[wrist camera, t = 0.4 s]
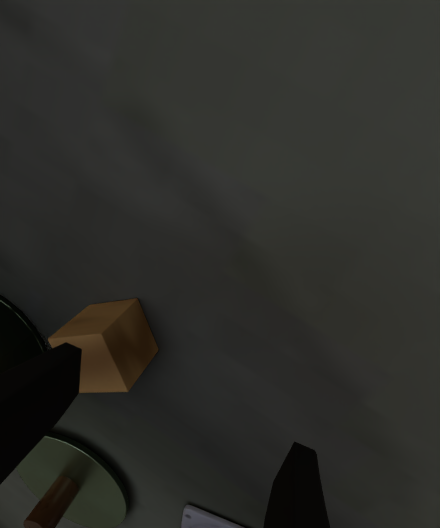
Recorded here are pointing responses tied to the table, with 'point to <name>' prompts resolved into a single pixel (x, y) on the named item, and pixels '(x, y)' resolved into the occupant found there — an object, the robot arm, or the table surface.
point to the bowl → (17, 337)
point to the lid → (71, 485)
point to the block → (109, 345)
